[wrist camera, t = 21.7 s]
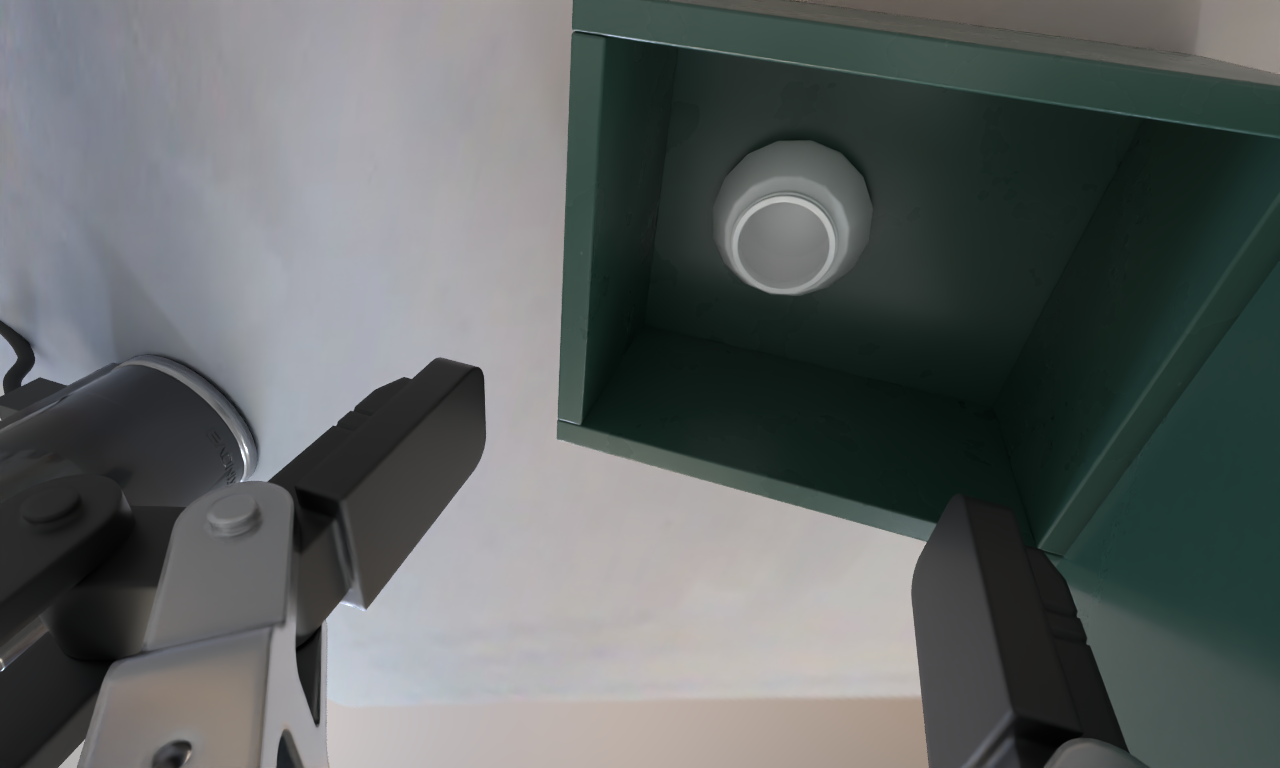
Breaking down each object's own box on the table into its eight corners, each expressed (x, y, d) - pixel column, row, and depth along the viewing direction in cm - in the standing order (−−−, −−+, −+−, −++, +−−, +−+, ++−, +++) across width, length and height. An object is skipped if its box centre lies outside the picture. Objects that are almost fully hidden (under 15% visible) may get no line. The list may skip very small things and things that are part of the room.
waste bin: (629, 328, 26) (556, 439, 20) (666, -17, 19) (571, -14, 13) (1001, 416, 23) (1053, 578, 17) (1198, 55, 17) (1404, 103, 10)
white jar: (798, 101, 19) (687, 214, 22) (789, 119, 17) (666, 243, 20) (904, 218, 20) (785, 312, 23) (910, 251, 18) (777, 351, 20)
